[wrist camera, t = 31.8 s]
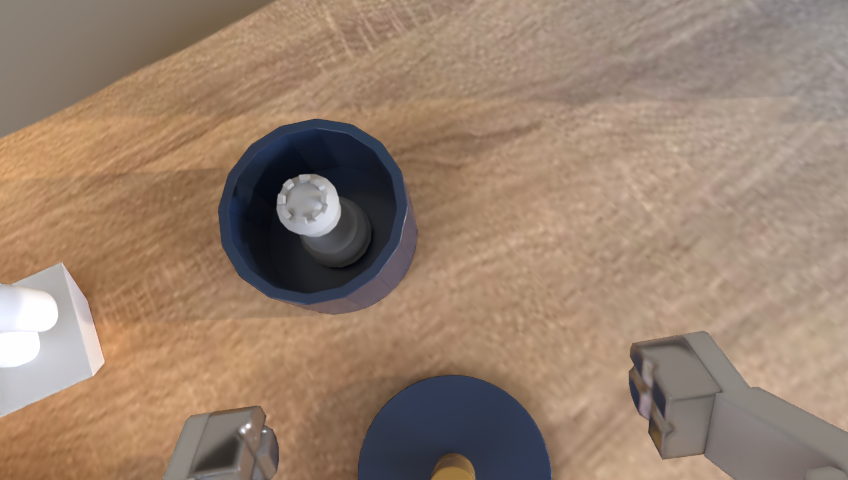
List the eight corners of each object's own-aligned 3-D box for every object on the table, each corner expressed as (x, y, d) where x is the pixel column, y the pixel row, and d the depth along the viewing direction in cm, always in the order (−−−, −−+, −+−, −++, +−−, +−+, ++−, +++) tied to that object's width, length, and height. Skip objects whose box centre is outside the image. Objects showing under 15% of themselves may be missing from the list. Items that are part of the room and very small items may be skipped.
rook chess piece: (292, 225, 35) (242, 186, 27) (350, 188, 35) (318, 139, 27) (326, 282, 34) (285, 259, 26) (386, 244, 34) (362, 210, 26)
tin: (363, 133, 36) (342, 86, 30) (447, 255, 34) (443, 231, 28) (236, 216, 36) (186, 185, 29) (312, 345, 33) (277, 342, 27)
